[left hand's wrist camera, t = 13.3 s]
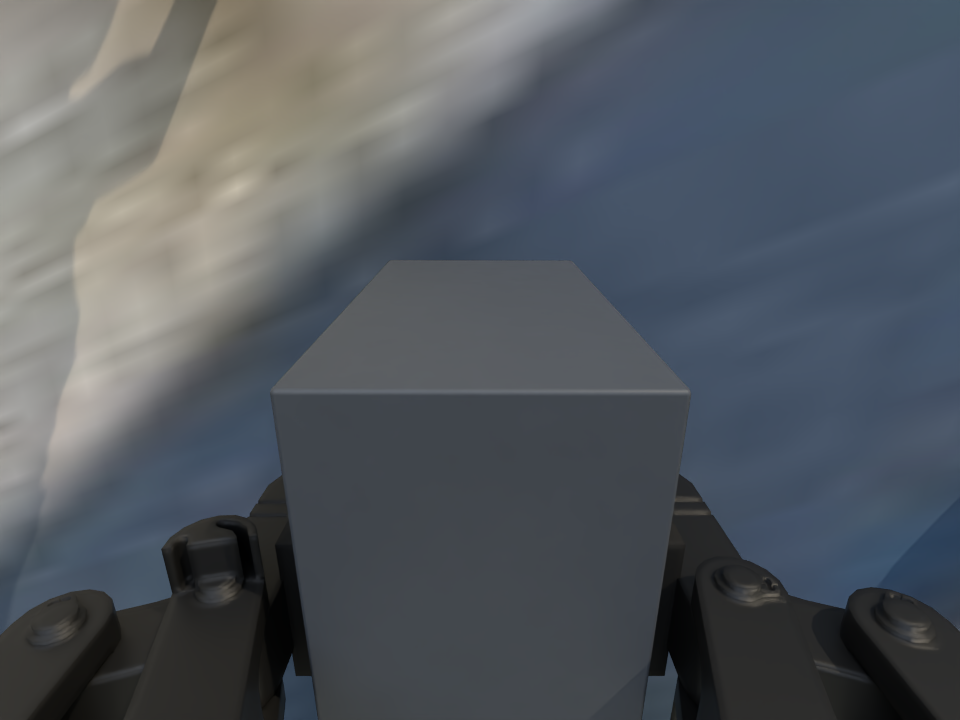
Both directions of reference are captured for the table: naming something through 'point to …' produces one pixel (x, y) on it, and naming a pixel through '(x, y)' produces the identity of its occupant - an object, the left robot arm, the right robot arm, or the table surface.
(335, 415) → the post
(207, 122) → the table surface
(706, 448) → the table surface
